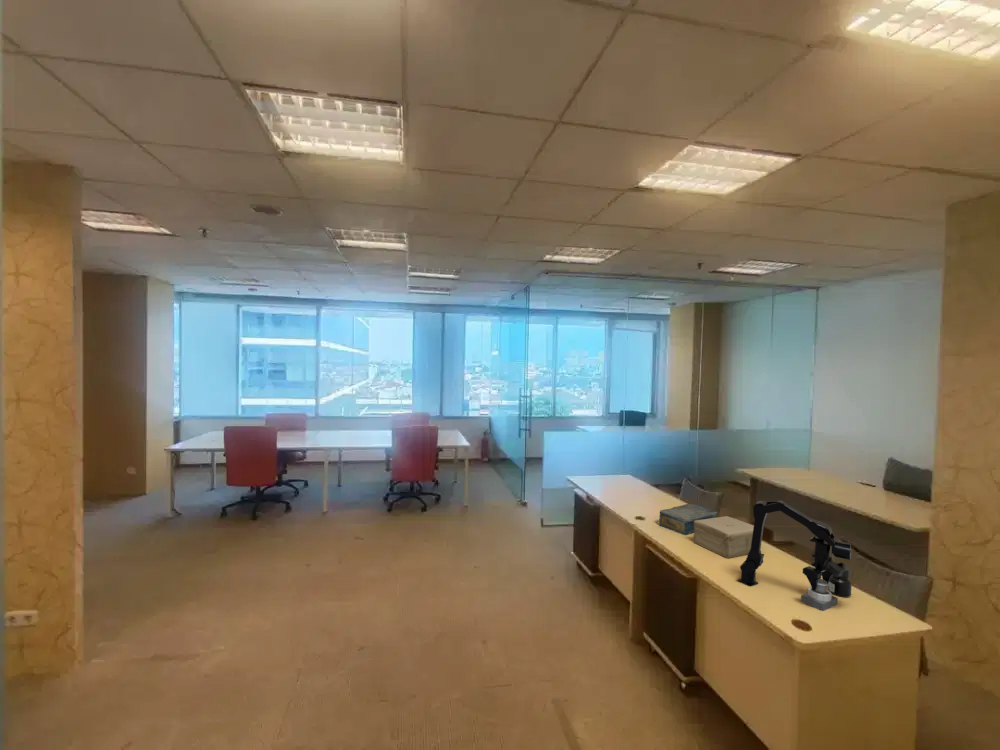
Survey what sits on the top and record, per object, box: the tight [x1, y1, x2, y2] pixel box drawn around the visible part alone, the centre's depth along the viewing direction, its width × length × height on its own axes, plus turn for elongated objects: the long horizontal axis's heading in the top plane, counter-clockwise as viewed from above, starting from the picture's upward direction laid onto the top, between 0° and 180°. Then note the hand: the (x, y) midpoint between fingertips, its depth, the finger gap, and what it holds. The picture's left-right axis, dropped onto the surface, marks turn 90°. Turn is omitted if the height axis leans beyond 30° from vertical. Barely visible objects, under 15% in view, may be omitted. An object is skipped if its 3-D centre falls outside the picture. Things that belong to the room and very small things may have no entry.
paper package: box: [693, 515, 754, 559], centre depth 280 cm, size 27×26×14 cm
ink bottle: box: [827, 566, 853, 598], centre depth 228 cm, size 10×9×12 cm
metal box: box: [658, 503, 719, 536], centre depth 314 cm, size 21×32×10 cm, turn 123°
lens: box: [813, 578, 828, 595], centre depth 218 cm, size 5×5×7 cm
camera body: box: [800, 586, 839, 612], centre depth 218 cm, size 12×9×6 cm
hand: (820, 588), depth 218 cm, fingers open, 9 cm apart
